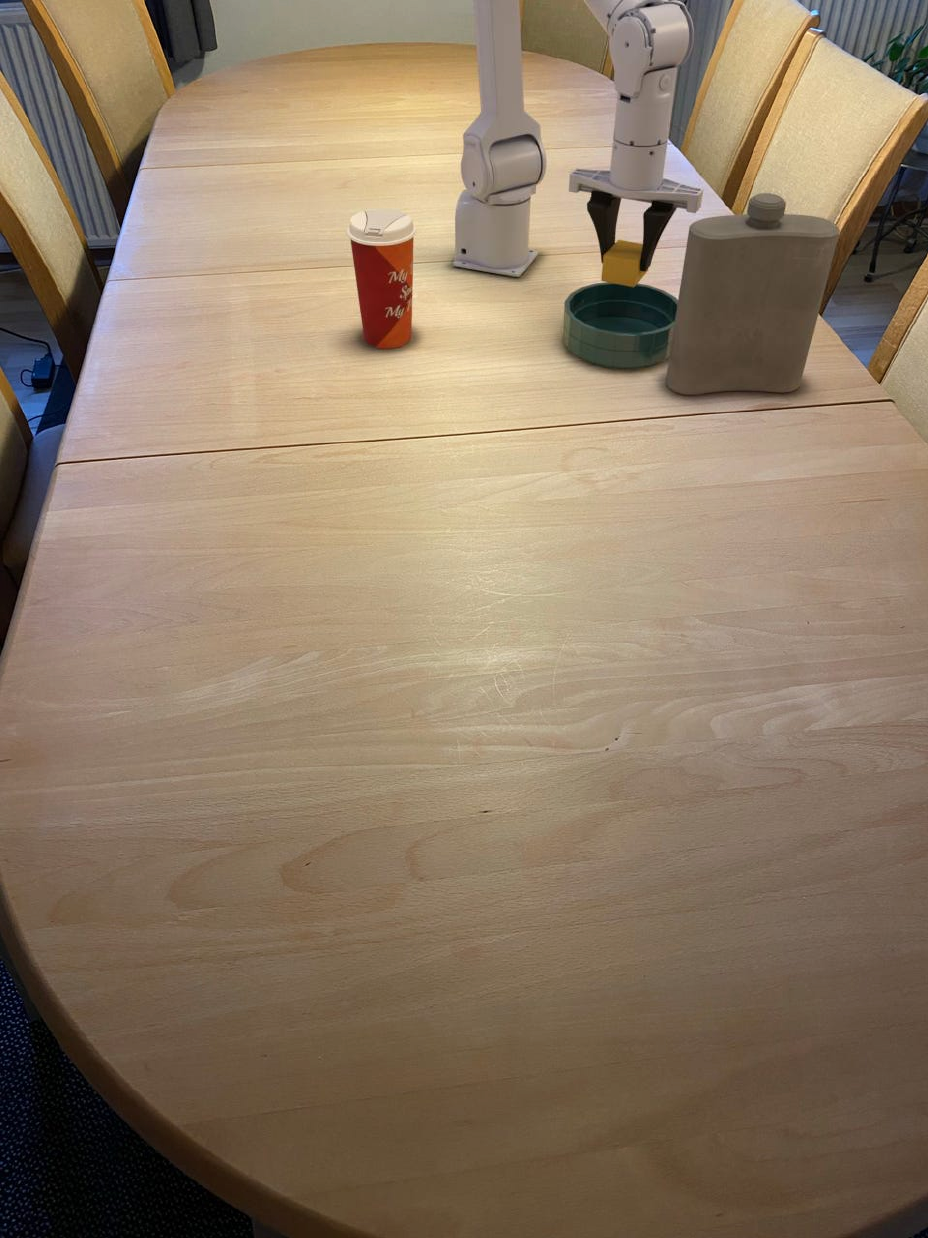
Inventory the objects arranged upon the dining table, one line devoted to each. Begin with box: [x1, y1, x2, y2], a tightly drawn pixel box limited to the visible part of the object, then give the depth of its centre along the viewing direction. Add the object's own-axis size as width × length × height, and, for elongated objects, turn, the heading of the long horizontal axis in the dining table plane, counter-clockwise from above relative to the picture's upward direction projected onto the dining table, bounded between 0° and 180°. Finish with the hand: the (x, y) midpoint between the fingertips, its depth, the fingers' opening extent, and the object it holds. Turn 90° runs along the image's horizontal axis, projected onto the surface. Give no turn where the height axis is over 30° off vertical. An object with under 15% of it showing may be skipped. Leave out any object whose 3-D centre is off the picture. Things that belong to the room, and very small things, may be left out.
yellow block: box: [600, 239, 649, 287], centre depth 113 cm, size 4×5×3 cm
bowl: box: [561, 281, 678, 371], centre depth 116 cm, size 14×14×4 cm
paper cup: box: [346, 207, 417, 349], centre depth 114 cm, size 8×8×14 cm
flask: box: [665, 192, 841, 396], centre depth 104 cm, size 15×6×20 cm, turn 93°
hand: (626, 264), depth 113 cm, fingers closed on yellow block, 4 cm apart
